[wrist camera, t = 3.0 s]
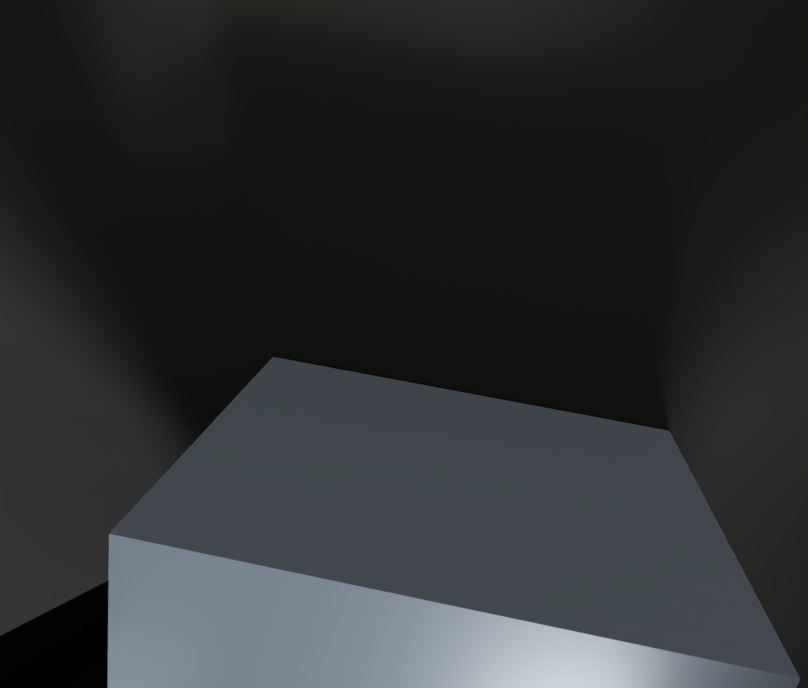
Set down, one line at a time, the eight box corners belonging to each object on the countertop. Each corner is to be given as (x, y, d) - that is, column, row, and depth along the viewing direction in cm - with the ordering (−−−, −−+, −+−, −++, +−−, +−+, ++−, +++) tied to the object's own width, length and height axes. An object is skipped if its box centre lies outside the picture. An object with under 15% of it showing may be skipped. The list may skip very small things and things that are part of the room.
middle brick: (668, 430, 9) (800, 678, 5) (576, 738, 10) (620, 1102, 6) (272, 357, 9) (109, 533, 5) (245, 664, 11) (104, 969, 7)
